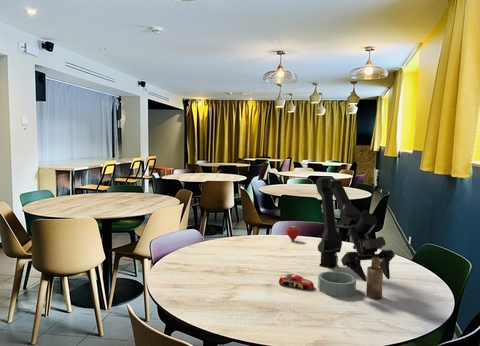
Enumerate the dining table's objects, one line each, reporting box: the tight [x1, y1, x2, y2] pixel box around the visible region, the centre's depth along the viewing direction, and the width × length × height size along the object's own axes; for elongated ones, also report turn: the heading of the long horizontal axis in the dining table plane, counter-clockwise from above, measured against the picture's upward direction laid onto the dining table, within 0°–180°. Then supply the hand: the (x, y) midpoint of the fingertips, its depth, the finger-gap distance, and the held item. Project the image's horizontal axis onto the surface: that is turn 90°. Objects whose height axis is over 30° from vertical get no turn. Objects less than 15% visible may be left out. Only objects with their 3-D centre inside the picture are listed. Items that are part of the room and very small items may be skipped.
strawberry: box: [286, 225, 300, 242], centre depth 200 cm, size 6×8×10 cm
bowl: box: [317, 270, 357, 298], centre depth 132 cm, size 13×13×4 cm
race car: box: [278, 273, 315, 291], centre depth 135 cm, size 13×5×4 cm, turn 64°
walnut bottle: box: [365, 257, 384, 301], centre depth 126 cm, size 5×5×14 cm
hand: (377, 279), depth 125 cm, fingers open, 9 cm apart
